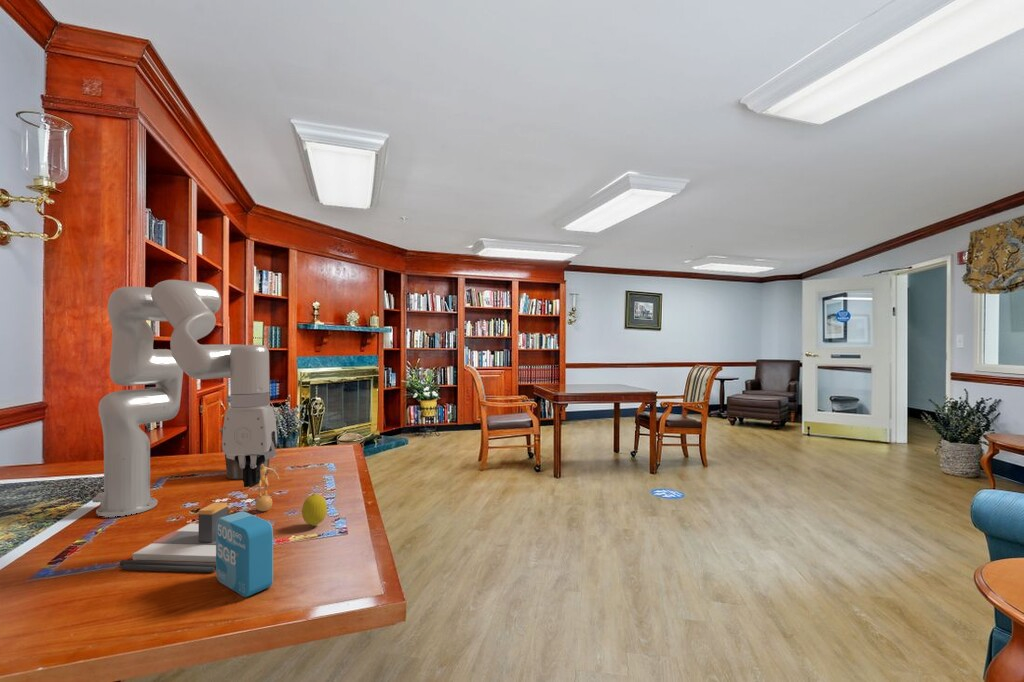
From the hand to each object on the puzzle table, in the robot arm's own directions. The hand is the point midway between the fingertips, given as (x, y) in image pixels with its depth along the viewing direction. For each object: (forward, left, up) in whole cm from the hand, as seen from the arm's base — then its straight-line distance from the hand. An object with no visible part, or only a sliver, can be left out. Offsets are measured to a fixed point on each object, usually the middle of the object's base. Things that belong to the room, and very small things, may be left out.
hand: (251, 485), depth 103 cm
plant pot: (-34, +52, -14) cm, 64 cm away
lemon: (+9, +11, -14) cm, 19 cm away
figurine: (-10, +21, -13) cm, 27 cm away
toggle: (-9, 0, -12) cm, 15 cm away
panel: (-10, 0, -13) cm, 17 cm away
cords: (-10, -10, -13) cm, 20 cm away
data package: (+9, -16, -14) cm, 22 cm away
